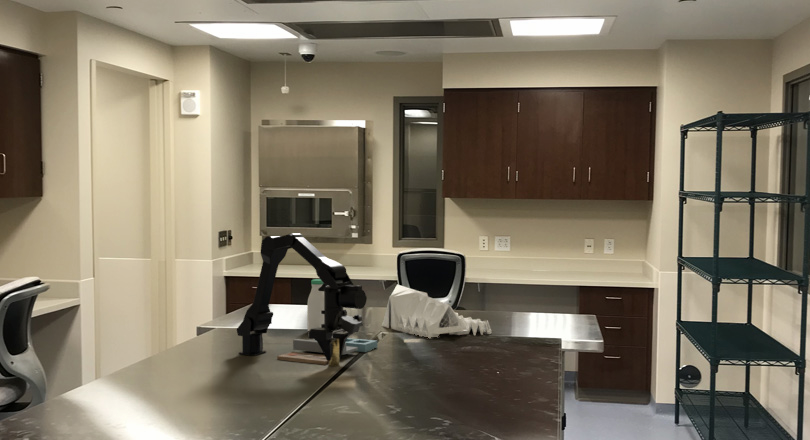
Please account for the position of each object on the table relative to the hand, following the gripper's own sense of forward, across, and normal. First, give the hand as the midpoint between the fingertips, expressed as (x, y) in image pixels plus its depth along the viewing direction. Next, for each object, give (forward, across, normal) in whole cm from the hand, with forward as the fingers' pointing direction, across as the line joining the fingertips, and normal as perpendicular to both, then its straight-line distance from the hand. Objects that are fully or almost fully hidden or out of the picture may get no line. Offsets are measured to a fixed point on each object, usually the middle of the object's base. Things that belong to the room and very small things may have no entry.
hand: (334, 358), depth 217 cm
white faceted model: (+3, +75, +1) cm, 75 cm away
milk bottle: (+2, +49, +39) cm, 63 cm away
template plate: (+2, +4, +12) cm, 13 cm away
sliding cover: (+1, +14, +12) cm, 18 cm away
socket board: (+2, +26, +12) cm, 29 cm away
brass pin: (+2, 0, 0) cm, 2 cm away
